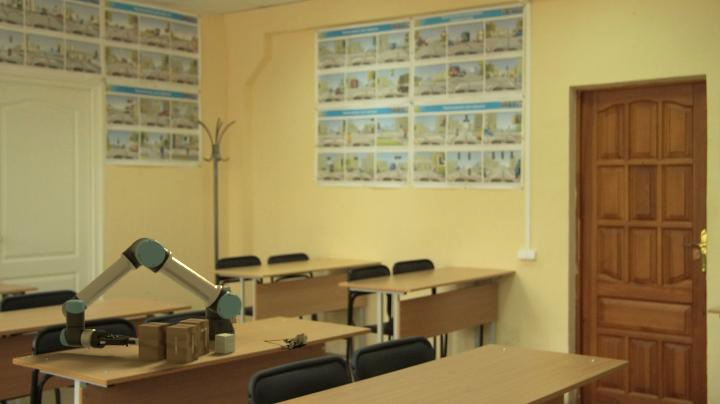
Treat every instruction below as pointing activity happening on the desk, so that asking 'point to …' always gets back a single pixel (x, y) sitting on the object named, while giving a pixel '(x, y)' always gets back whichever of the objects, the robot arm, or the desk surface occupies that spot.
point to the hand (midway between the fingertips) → (143, 342)
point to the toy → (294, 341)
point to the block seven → (200, 334)
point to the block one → (182, 343)
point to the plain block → (152, 341)
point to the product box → (224, 343)
